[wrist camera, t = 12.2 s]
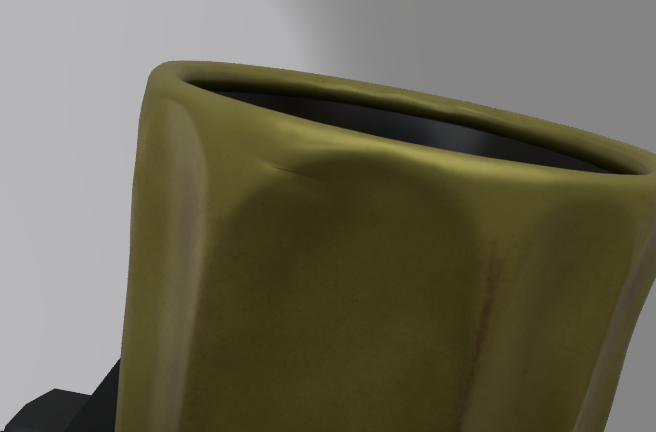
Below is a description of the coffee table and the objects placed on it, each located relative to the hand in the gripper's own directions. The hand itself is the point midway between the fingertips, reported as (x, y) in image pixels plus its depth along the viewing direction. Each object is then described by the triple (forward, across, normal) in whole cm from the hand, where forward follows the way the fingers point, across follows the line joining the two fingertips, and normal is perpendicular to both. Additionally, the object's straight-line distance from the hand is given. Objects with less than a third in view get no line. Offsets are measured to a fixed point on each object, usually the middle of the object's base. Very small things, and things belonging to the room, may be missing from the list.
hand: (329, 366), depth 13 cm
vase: (-5, 0, -8) cm, 10 cm away
